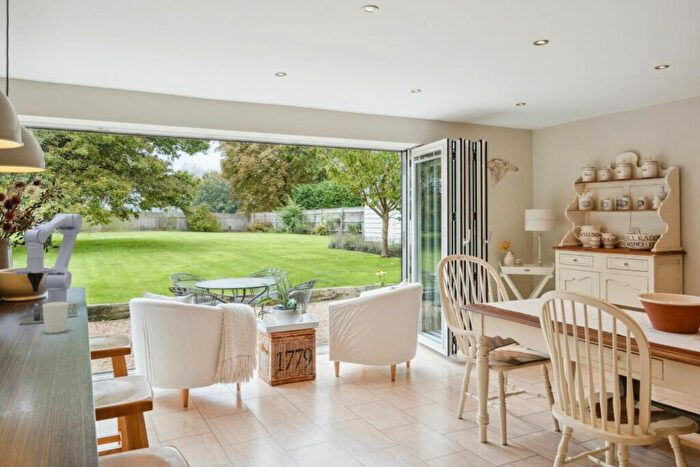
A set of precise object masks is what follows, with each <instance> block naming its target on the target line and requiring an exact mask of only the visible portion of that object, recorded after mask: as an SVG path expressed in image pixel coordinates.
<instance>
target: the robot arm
mask: <svg viewBox="0 0 700 467" xmlns="http://www.w3.org/2000/svg"><path fill="white" fill-rule="evenodd" d="M53 217H54V218H53V219H51V220H50V221H42V222H41V224H39V225H38V226H35V227H34V228H32V229H27V230H26V231H25V232H24V233H23V241H24V244H25V245H24V246H25V248H26V260H27V261H26V262H27V263H26V264H27V266H26V268H23V269H22V268H19V269H14V270H13V275H15V276H16V275H26V276H27V279H28V280H29V282H30V285H31V288H32V292H33V293H37V292H39V286H40V284H41V281H42V285H43V288H44V289H45V290H46V291H47V303H53V302H67V303H68V297H67V296H68V292H67V290H69V288H70V287H71V285H72V277H73V274H72V273H71V271H70V270H69V269H68V268H69V264H70V260H71V258H72V254H73V250H74V247H75V244H76V240H77V236H78V234H80V232H81V228H82V225H83V219H82V216H81V214H80V213H60V212H59V213H56V214H55V215H54V216H53ZM56 230H58V232H59V233H60V234H61V235H63V237H62V240H61V242H60V246H59V249H58V252H57V256H56V260H55V263H54V266H53V267H52V268H44V264H45V263H44V261H45V260H44V254H45V253H44V243H45V244H46V242H47V240H48V238H49V237H50V236H51V235H53V234H54V233H55V231H56Z"/></svg>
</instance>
